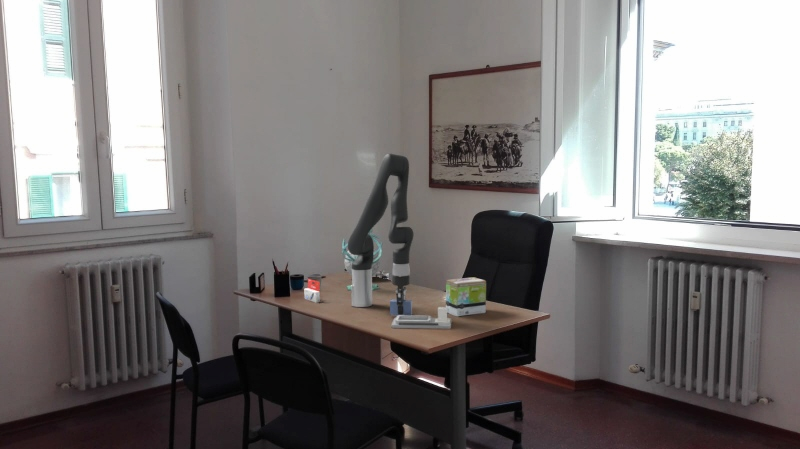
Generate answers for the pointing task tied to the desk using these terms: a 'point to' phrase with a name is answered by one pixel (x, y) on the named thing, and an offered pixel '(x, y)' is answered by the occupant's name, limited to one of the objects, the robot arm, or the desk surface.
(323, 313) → the desk surface
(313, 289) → the ink cartridge box
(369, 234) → the armillary sphere
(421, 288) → the desk surface
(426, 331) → the desk surface
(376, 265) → the decorative sphere
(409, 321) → the dock
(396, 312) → the blue block
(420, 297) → the desk surface
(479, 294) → the tea box
